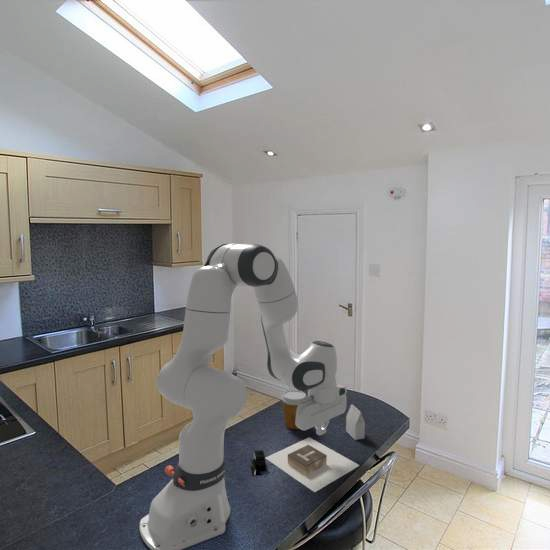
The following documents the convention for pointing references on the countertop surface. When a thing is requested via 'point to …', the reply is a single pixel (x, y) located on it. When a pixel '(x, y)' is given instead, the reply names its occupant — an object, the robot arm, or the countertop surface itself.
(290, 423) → the disposable coffee cup
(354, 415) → the grey angular block
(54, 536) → the countertop surface
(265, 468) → the black mounting plate
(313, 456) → the letter block
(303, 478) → the felt mat
